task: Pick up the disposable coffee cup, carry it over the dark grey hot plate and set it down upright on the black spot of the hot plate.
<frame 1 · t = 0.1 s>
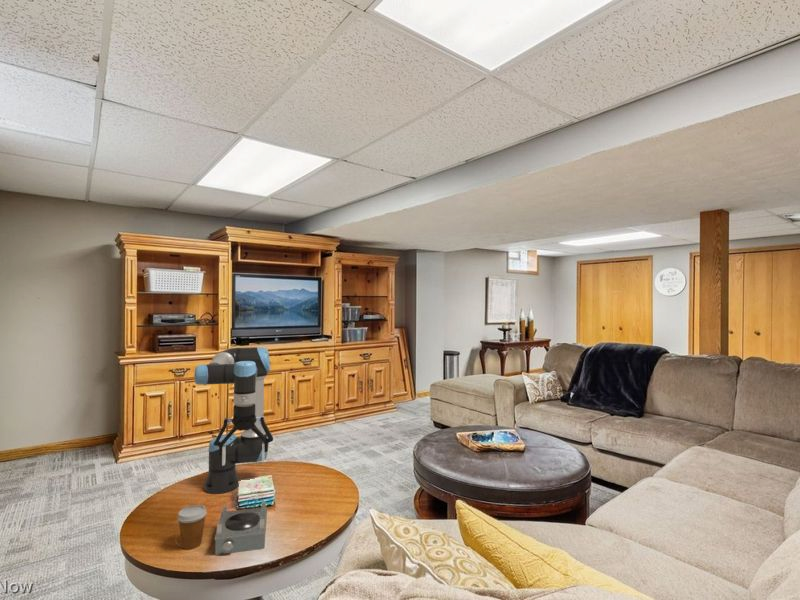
hand: (243, 462, 155), 28 cm above the table, fingers open, 13 cm apart
disposable coffee cup: (191, 545, 152), on the table
hot plate: (242, 537, 156), on the table
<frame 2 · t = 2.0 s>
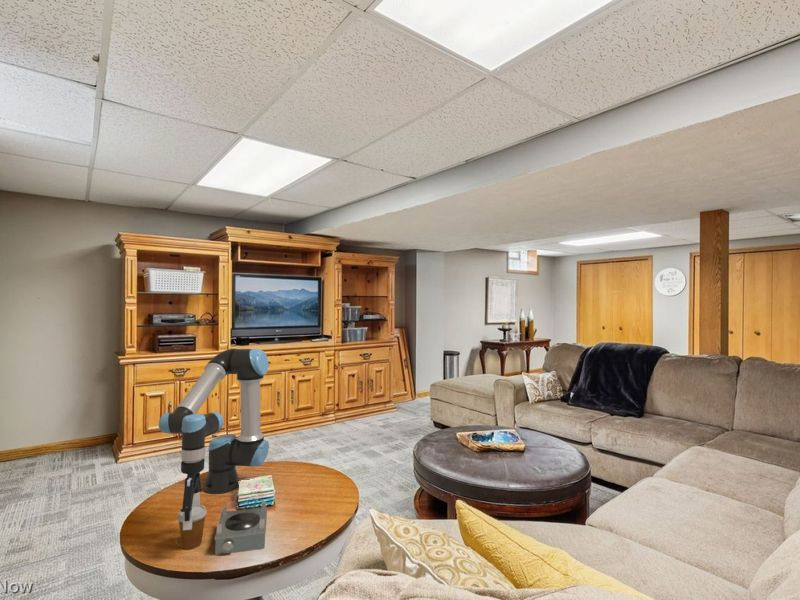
hand: (191, 519, 151), 9 cm above the table, fingers open, 13 cm apart
nothing on the table moved.
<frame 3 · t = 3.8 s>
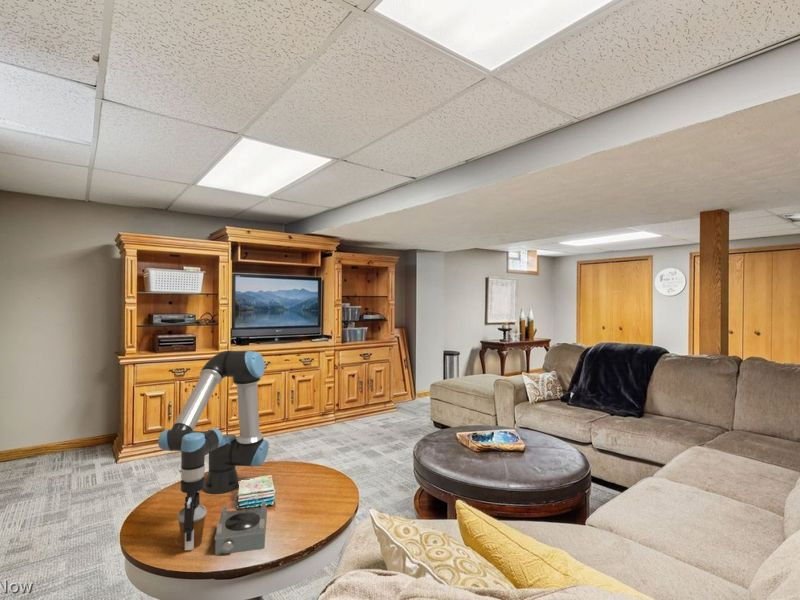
hand: (191, 542, 152), 1 cm above the table, fingers closed on disposable coffee cup, 8 cm apart
disposable coffee cup: (191, 544, 152), on the table, touching gripper
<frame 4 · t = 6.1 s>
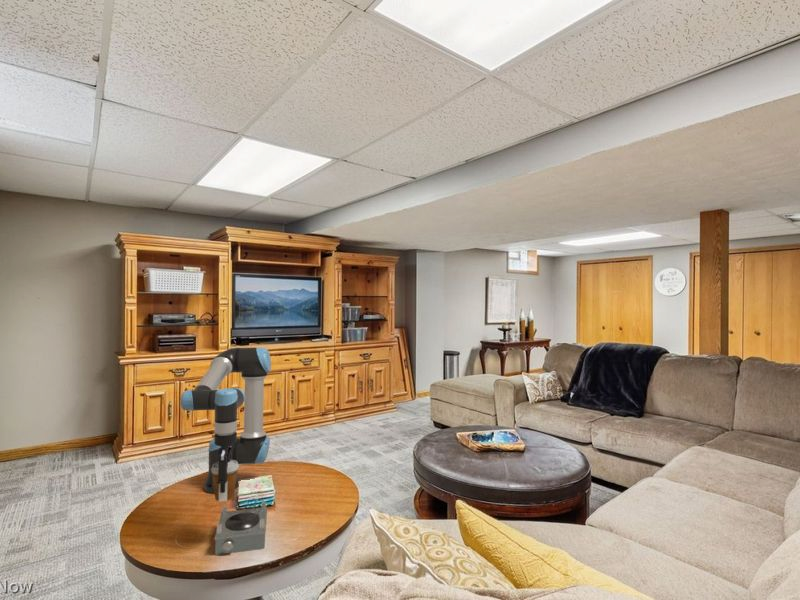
hand: (224, 495, 155), 16 cm above the table, fingers closed on disposable coffee cup, 8 cm apart
disposable coffee cup: (224, 498, 155), point 15 cm above the table, touching gripper
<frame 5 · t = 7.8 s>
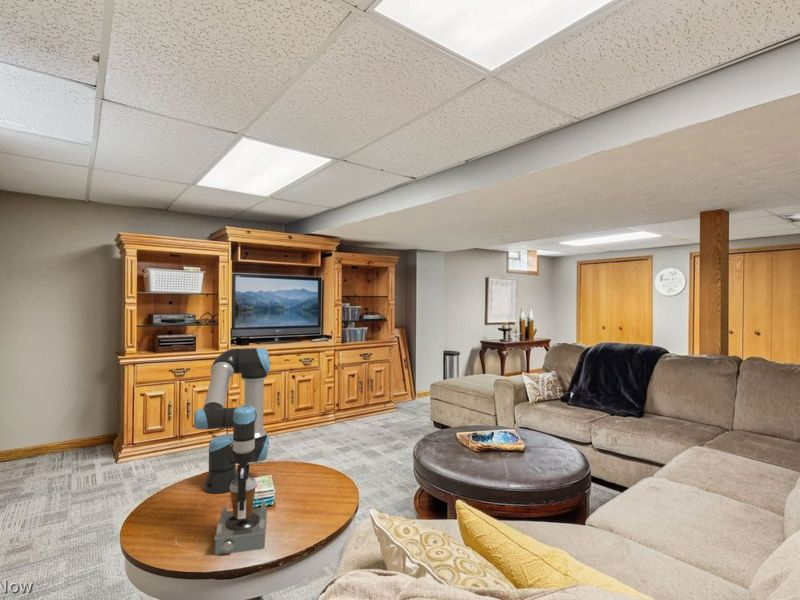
hand: (242, 512, 156), 9 cm above the table, fingers closed on disposable coffee cup, 8 cm apart
disposable coffee cup: (242, 515, 156), point 8 cm above the table, touching gripper
when the fingers open (9 cm above the table, at t = 8.7 s): disposable coffee cup drops 2 cm, resting on hot plate.
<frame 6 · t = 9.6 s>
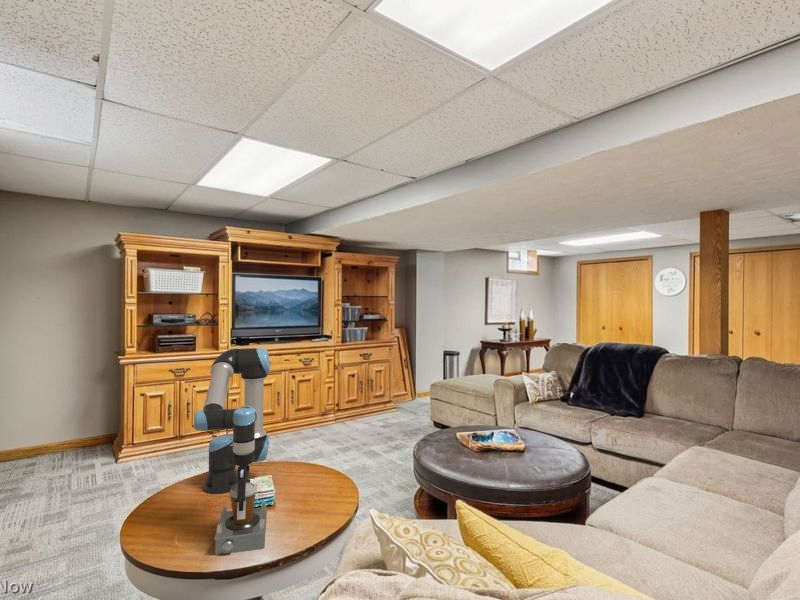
hand: (242, 509, 156), 10 cm above the table, fingers open, 13 cm apart
disposable coffee cup: (242, 520, 156), point 6 cm above the table, touching hot plate
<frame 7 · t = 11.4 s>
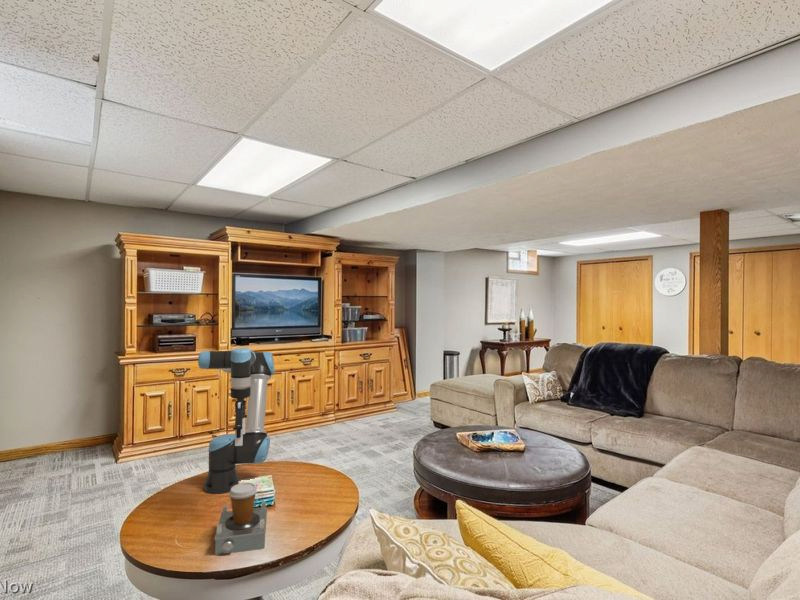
hand: (240, 439, 172), 31 cm above the table, fingers open, 13 cm apart
nothing on the table moved.
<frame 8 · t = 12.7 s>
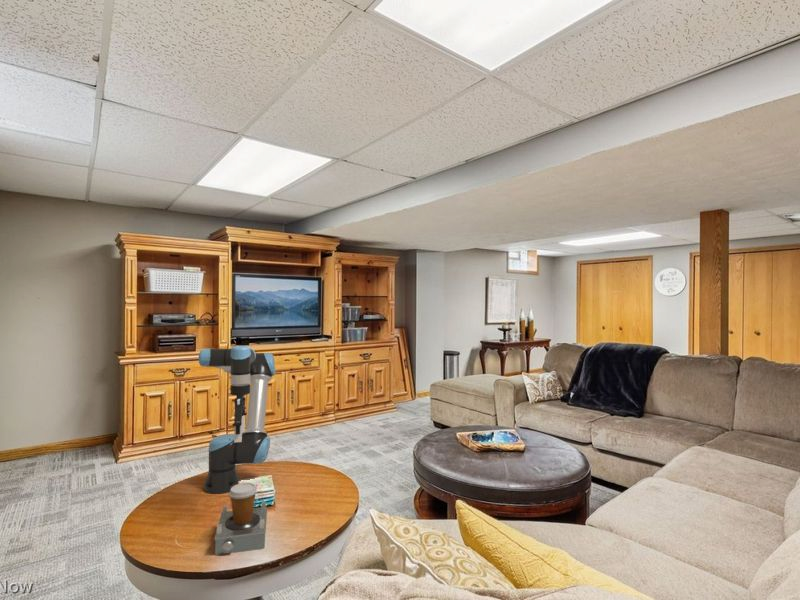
hand: (239, 436, 173), 32 cm above the table, fingers open, 13 cm apart
nothing on the table moved.
at the end: disposable coffee cup inside the target area on the hot plate (0.1 cm from its centre), point 6.1 cm above the hot plate's base; disposable coffee cup tilted 0°; the gripper is holding nothing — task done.
